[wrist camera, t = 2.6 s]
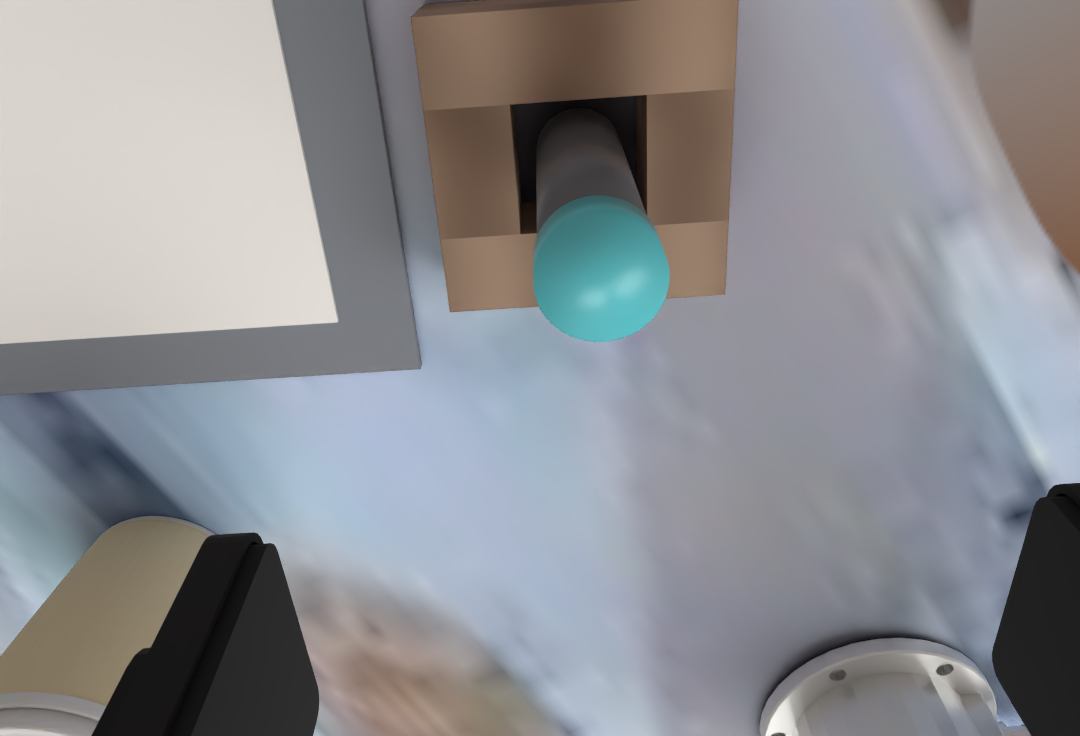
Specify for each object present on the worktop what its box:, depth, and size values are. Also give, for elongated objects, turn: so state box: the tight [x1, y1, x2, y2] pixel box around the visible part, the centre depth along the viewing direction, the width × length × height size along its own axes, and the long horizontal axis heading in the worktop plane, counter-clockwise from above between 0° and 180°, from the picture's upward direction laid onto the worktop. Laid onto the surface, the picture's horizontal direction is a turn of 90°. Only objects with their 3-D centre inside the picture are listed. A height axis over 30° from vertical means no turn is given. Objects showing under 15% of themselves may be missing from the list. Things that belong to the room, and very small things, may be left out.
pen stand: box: [411, 0, 739, 312], centre depth 29 cm, size 10×10×4 cm
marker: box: [533, 108, 670, 342], centre depth 25 cm, size 3×3×13 cm
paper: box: [0, 0, 339, 344], centre depth 31 cm, size 18×13×1 cm
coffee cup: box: [0, 516, 216, 736], centre depth 36 cm, size 9×9×12 cm
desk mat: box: [0, 0, 422, 395], centre depth 31 cm, size 24×18×1 cm
